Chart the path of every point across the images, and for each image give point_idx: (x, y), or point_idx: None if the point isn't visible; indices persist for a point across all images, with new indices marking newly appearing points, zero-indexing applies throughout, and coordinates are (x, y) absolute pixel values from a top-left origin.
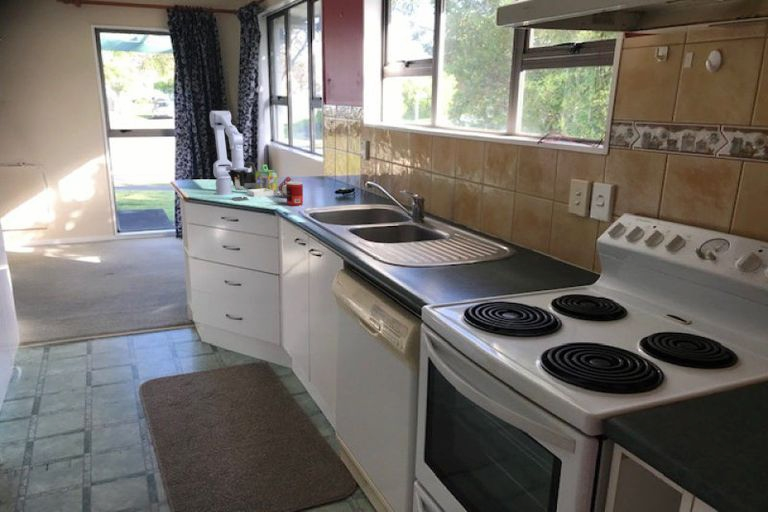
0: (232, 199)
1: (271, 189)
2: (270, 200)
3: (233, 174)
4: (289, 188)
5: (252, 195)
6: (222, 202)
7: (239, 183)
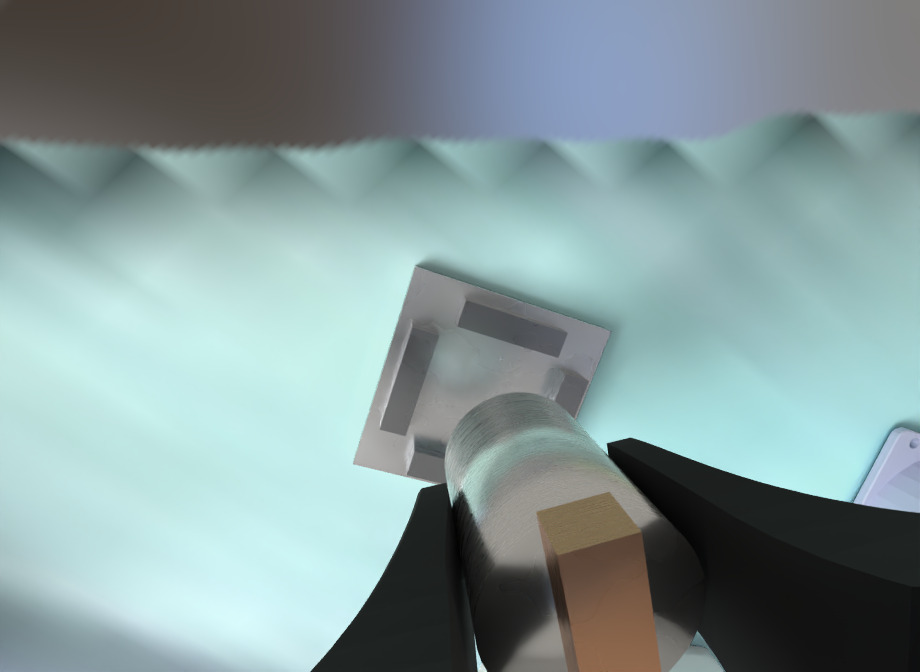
0: (535, 320)
1: None
2: (228, 644)
3: (821, 634)
4: None
5: None
6: (544, 158)
7: (471, 499)
